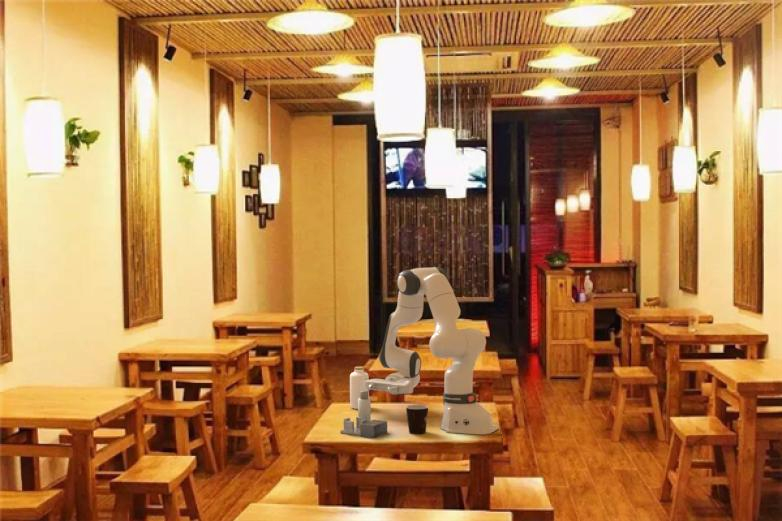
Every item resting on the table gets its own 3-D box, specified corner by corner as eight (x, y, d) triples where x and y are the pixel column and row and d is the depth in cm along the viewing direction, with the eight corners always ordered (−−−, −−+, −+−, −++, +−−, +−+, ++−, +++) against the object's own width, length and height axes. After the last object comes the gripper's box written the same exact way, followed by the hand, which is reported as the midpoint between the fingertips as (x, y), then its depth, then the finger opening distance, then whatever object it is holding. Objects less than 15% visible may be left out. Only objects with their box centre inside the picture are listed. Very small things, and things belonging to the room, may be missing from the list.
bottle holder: (387, 432, 340) (387, 419, 339) (374, 438, 331) (373, 424, 331) (352, 428, 347) (352, 415, 347) (339, 433, 339) (338, 420, 339)
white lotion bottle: (373, 425, 353) (372, 390, 352) (366, 427, 348) (366, 392, 348) (362, 424, 355) (362, 389, 355) (355, 426, 351) (355, 391, 350)
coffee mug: (415, 429, 345) (415, 403, 345) (433, 432, 340) (432, 406, 340) (396, 434, 336) (396, 408, 336) (414, 437, 331) (414, 411, 331)
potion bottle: (360, 410, 382) (360, 369, 382) (346, 408, 387) (345, 367, 387) (372, 407, 389) (372, 366, 388) (358, 405, 394) (357, 365, 393)
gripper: (374, 374, 379) (357, 379, 367) (416, 378, 369) (400, 384, 357) (374, 388, 380) (357, 394, 368) (416, 393, 369) (400, 399, 357)
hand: (378, 389), depth 362 cm, fingers open, 8 cm apart
